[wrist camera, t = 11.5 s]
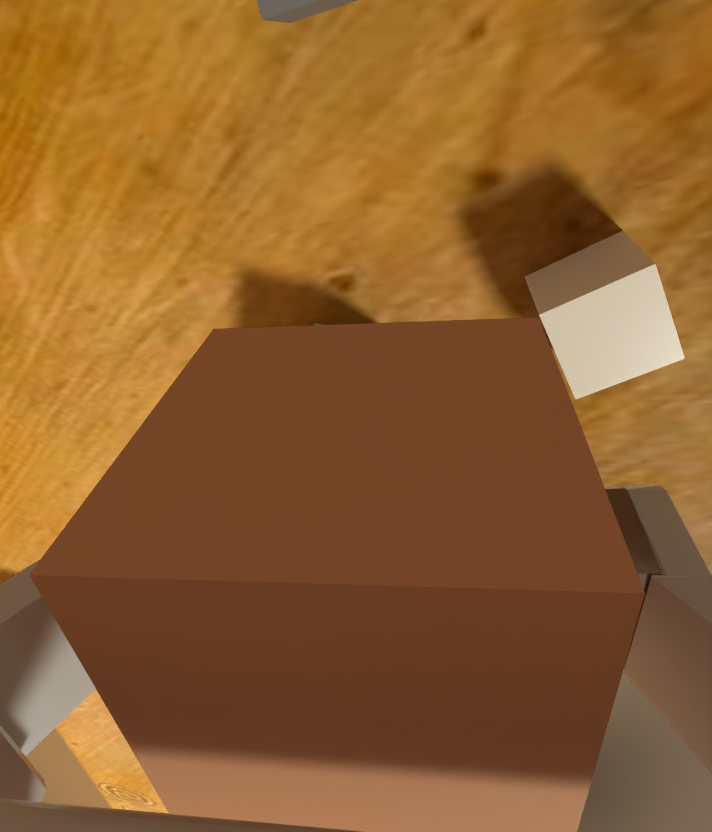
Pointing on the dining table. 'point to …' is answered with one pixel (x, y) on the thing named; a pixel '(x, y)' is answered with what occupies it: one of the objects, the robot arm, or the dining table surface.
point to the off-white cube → (605, 314)
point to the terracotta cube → (357, 582)
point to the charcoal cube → (295, 8)
